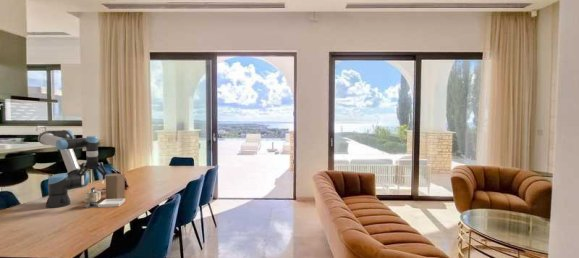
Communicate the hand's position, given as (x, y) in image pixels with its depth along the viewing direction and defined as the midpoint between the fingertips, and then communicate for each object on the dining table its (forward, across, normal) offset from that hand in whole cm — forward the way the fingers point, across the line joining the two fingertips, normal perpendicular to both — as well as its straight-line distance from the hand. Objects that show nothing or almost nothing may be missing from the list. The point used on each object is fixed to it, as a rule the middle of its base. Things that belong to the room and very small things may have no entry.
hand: (92, 184), depth 233 cm
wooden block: (+17, +9, +20) cm, 28 cm away
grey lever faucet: (+17, 0, 0) cm, 17 cm away
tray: (+17, +12, +3) cm, 21 cm away
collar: (+13, 0, 0) cm, 13 cm away
